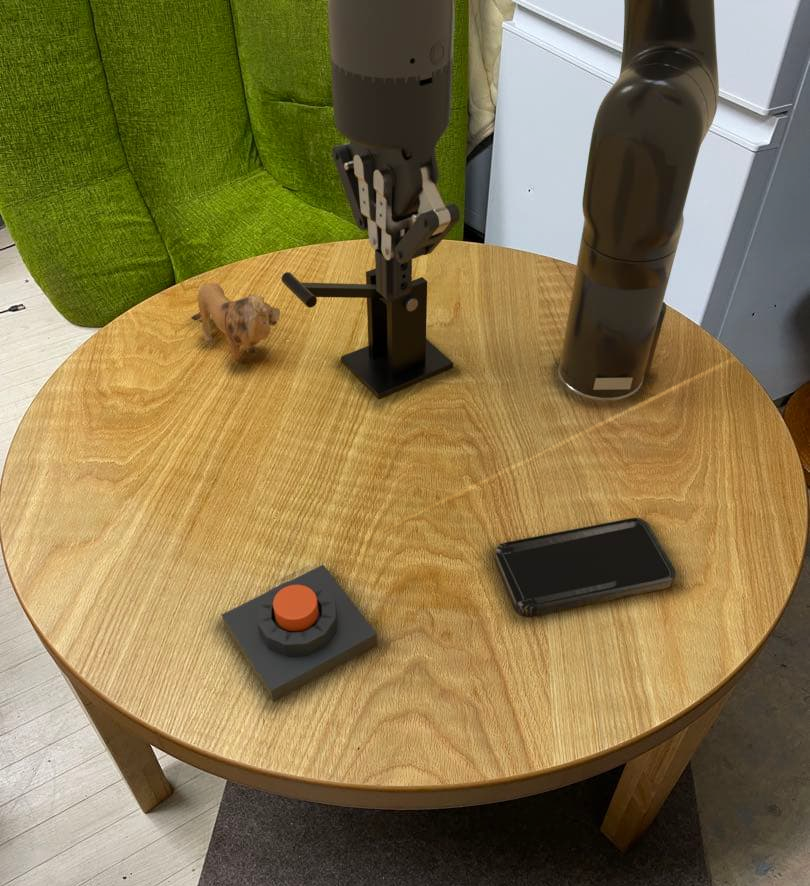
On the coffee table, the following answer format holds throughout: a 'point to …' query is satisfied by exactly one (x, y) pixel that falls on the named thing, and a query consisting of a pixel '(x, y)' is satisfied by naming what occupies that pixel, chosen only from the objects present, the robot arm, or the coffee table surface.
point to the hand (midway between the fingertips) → (393, 293)
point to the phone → (583, 566)
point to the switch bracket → (396, 343)
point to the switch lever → (329, 290)
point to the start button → (295, 608)
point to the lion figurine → (236, 318)
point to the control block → (299, 635)
